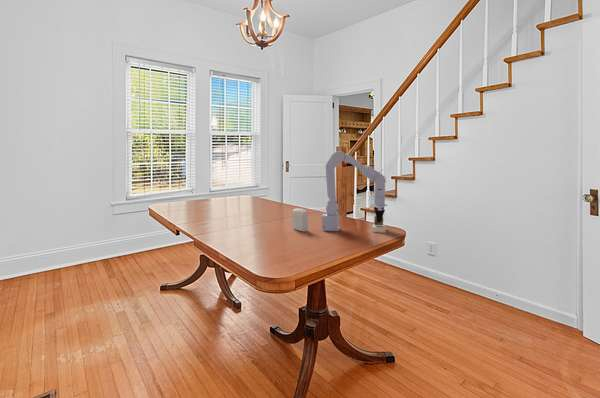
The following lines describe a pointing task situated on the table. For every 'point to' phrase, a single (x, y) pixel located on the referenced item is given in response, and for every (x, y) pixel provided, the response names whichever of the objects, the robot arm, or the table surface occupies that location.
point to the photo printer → (300, 219)
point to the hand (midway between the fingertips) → (378, 221)
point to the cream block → (378, 228)
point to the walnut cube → (378, 222)
